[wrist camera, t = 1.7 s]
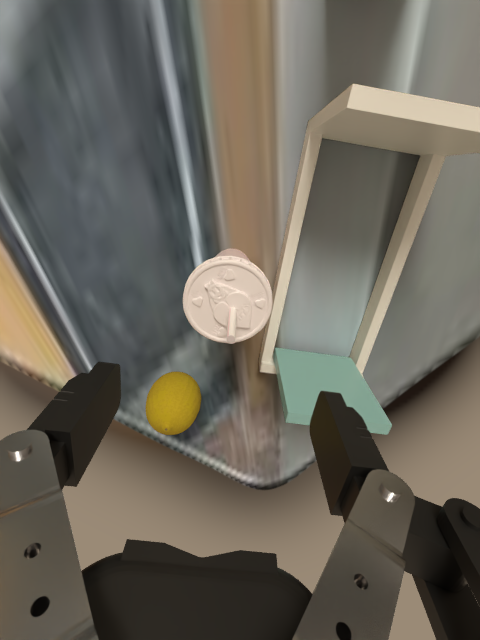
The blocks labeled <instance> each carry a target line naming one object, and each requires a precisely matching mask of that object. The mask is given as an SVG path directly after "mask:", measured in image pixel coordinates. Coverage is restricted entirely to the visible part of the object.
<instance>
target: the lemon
mask: <svg viewBox="0 0 480 640" xmlns="http://www.w3.org/2000/svg"><path fill="white" fill-rule="evenodd" d="M200 404H201V393H200V388H199V386H198V384H197V382H196V381H195V380H194V379H193V378H192V377H191V376H189V375H188V374H185V373H183V372H170V373H167V374H165V375H163V376H161V377H160V378H159V379H158V380H157V381H156V382H155V383H154V384H153V386H152V387H151V389H150V391H149V393H148V396H147V401H146V416H147V419H148V421H149V424H150V425H151V426H152V427H153V428H154V429H155V430H156V431H157V432H159V433H162V434H165V435H175V434H179V433H182V432H183V431H185V430H186V429H188V428H189V427H190V425H191V424H192V423H193V422H194V420H195V418H196V416H197V414H198V412H199V409H200Z"/></svg>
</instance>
